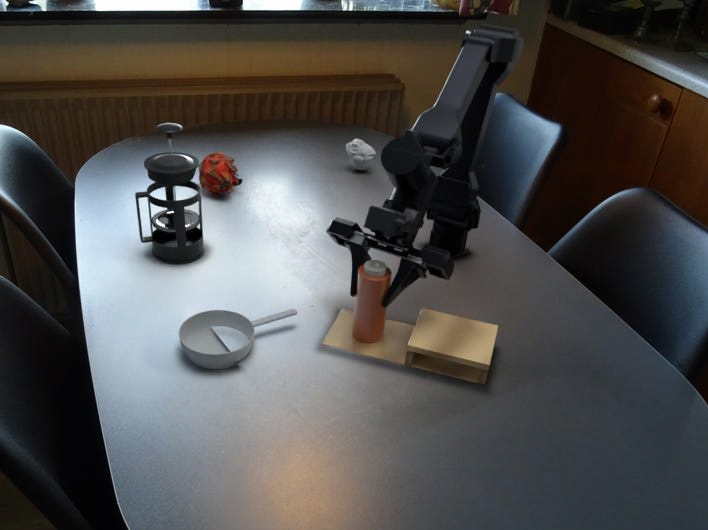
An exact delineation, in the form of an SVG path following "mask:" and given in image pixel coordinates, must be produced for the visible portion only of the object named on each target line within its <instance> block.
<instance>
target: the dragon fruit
mask: <svg viewBox="0 0 708 530" xmlns="http://www.w3.org/2000/svg"><path fill="white" fill-rule="evenodd" d="M234 162H235V159H234V158H233V157H232V156H227V155H226V154H225V153H224V152H221V151H217V152H212V153H209V154H207V155H205V157H204V158H203V159H202V161H201V162H199V166H198V167H197V168H198V181H199V185H200V188H202V189H205V188H206V189H207V191H208V192H209V193H210V194H211V195H212V196H214V197H217V198H221V194H222V193H223V194H226V195H228V194H230V193H231V192H233V187H237V186H241V185H242V183H243V182H244V181H243V178H242V177H241V178H239V174H238V172H239V169H238V167H237V166H236V165H234Z"/></svg>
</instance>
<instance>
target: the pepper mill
mask: <svg viewBox="0 0 708 530" xmlns="http://www.w3.org/2000/svg"><path fill="white" fill-rule="evenodd" d="M392 276H393V272H392V270H391V268H390V267H388V266H387V263H385V262H384V261H382V260H379V259H371V260H369V261H367V262H366V263H365V264H364V265H362V266H360V267H359V269H358V276H357V287H356V295H355V297H354V309H353V311H354V317H353V327H352V334H353V336H354V338H356V339H357V340H359V341H361V342H365V343H375V342H378V341H380V340H381V339H382V338H383V336H384V328H385V321H386V319H387V313H388V307H387V308H383V307H382V304H383V301H384V298H385V295H386V293H387V291H388V289H389V287H390V285H391V283H392Z"/></svg>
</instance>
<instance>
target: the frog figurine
mask: <svg viewBox="0 0 708 530" xmlns="http://www.w3.org/2000/svg"><path fill="white" fill-rule="evenodd" d="M345 151H346V153H347V155H348V157H349V158H350V160H349V161H350V165H351V167H353V168H354V169H355V170H357V171H362V172H363V171H366V170H368V169H369V168H370V167H371V165H372V163H373V160H374V156H376V155H377V152H376V150H375V148H373V147H372V146H371V145H369V144H368V143H366V142H364V140H363V139H359V138H354V139H353V140H352V141H350V142H348V143H346V144H345Z"/></svg>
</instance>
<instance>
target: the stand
mask: <svg viewBox="0 0 708 530" xmlns="http://www.w3.org/2000/svg"><path fill="white" fill-rule="evenodd" d="M353 317H354V310H350V309H345V308H342V309H341V310H340V311H339V313H338V315H337V317H336V318H335V321H334V322H333V324H332V326H331V327H330V328H329V331H328V332H327V334H326V336H325V337H324V339H323V341H322V345H326V346H328V347H329V346H330V347H333V348H337V349H342V350H345V351H348V352H353V353H357V354H361V355H364V356H368V357H373V358H377V359H381V360H384V361H388V362H393V363H397V364H401V365H405V366H409V367H412V368H416V369H421V370H423V371H428V372H432V373H437V374H441V375H445V376H448V377H453V378H457V379H460V380H465V381H469V382H473V383H477V384H481V385H486V381H487V377H488V374H489V370H490V367H491V361H492V356H493V352H494V349H495V343H496V339H497V333H498V329H499V325H498V324H493V323H488V322H484V321H480V320H475V319H472V318H467V317H462V316H458V315H453V314H450V313H445V312H440V311H437V310H431V309H428V308H424V307H422V308H421V310H420V312H419V316H418V317H417V320H416V323H415V325H413V324H408V323H404V322H401V321H395V320H393V319H387V318H386V321H385V328H384V336H383V338H382V339H381V340H380V341H378V342H375V343H365V342H361V341H359V340H357V339H356V338H354V336H353V334H352V327H353Z"/></svg>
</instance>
